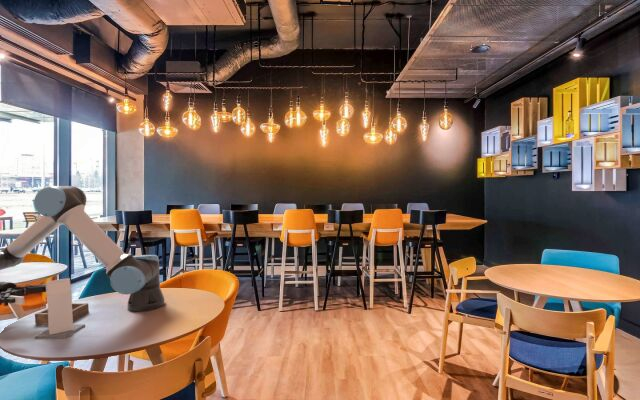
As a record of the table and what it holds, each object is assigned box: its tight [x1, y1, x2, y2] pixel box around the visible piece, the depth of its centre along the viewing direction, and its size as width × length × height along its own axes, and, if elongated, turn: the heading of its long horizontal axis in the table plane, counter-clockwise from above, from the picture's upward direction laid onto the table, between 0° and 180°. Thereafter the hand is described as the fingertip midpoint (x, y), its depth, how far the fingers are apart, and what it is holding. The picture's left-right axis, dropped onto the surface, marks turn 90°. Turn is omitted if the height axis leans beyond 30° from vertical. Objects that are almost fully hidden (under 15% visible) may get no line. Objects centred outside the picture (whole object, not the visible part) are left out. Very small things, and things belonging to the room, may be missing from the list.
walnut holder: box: [34, 302, 90, 325], centre depth 153 cm, size 13×13×4 cm
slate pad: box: [34, 323, 86, 339], centre depth 138 cm, size 11×11×1 cm
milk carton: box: [46, 277, 74, 335], centre depth 138 cm, size 7×7×19 cm
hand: (42, 295), depth 140 cm, fingers open, 13 cm apart
